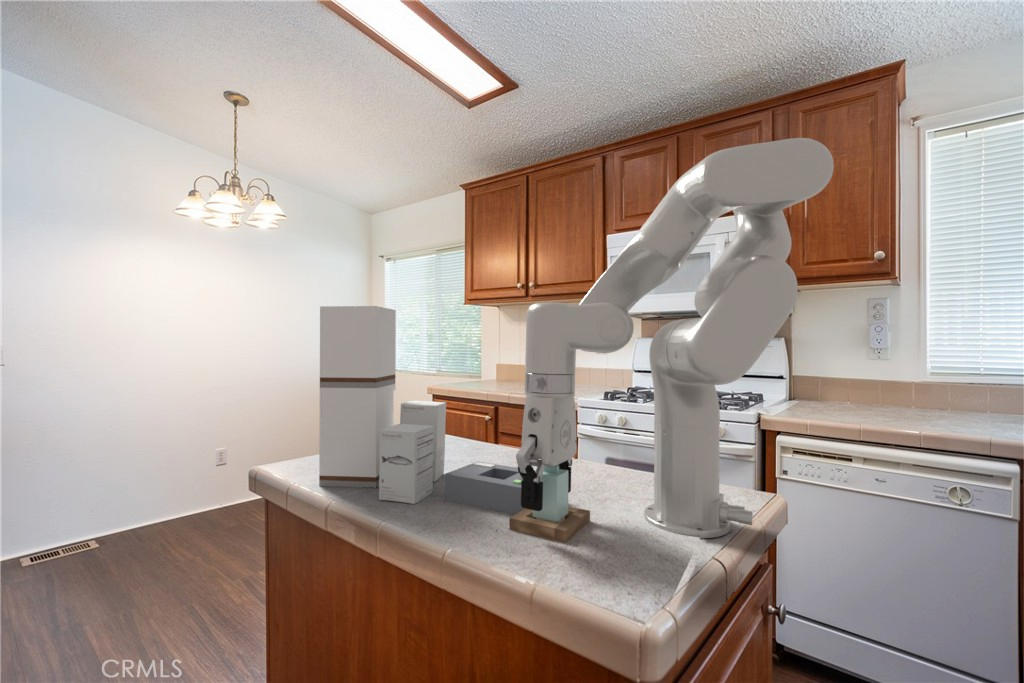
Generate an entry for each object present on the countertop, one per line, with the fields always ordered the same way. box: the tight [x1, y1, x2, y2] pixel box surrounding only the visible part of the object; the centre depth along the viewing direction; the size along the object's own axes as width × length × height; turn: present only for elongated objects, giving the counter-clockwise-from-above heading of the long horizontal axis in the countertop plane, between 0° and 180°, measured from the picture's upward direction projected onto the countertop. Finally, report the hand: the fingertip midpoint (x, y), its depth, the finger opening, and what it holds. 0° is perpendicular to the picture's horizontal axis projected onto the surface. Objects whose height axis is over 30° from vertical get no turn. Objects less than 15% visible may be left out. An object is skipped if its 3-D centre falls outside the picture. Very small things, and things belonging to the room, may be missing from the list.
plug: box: [533, 464, 569, 524], centre depth 70 cm, size 4×4×9 cm
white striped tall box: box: [318, 305, 397, 489], centre depth 96 cm, size 11×11×35 cm
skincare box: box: [399, 400, 447, 483], centre depth 98 cm, size 8×7×16 cm
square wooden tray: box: [508, 505, 591, 544], centre depth 70 cm, size 9×9×2 cm
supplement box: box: [378, 423, 434, 505], centre depth 85 cm, size 7×7×13 cm
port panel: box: [444, 461, 525, 516], centre depth 82 cm, size 16×10×5 cm, turn 59°
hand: (547, 499), depth 70 cm, fingers open, 9 cm apart
